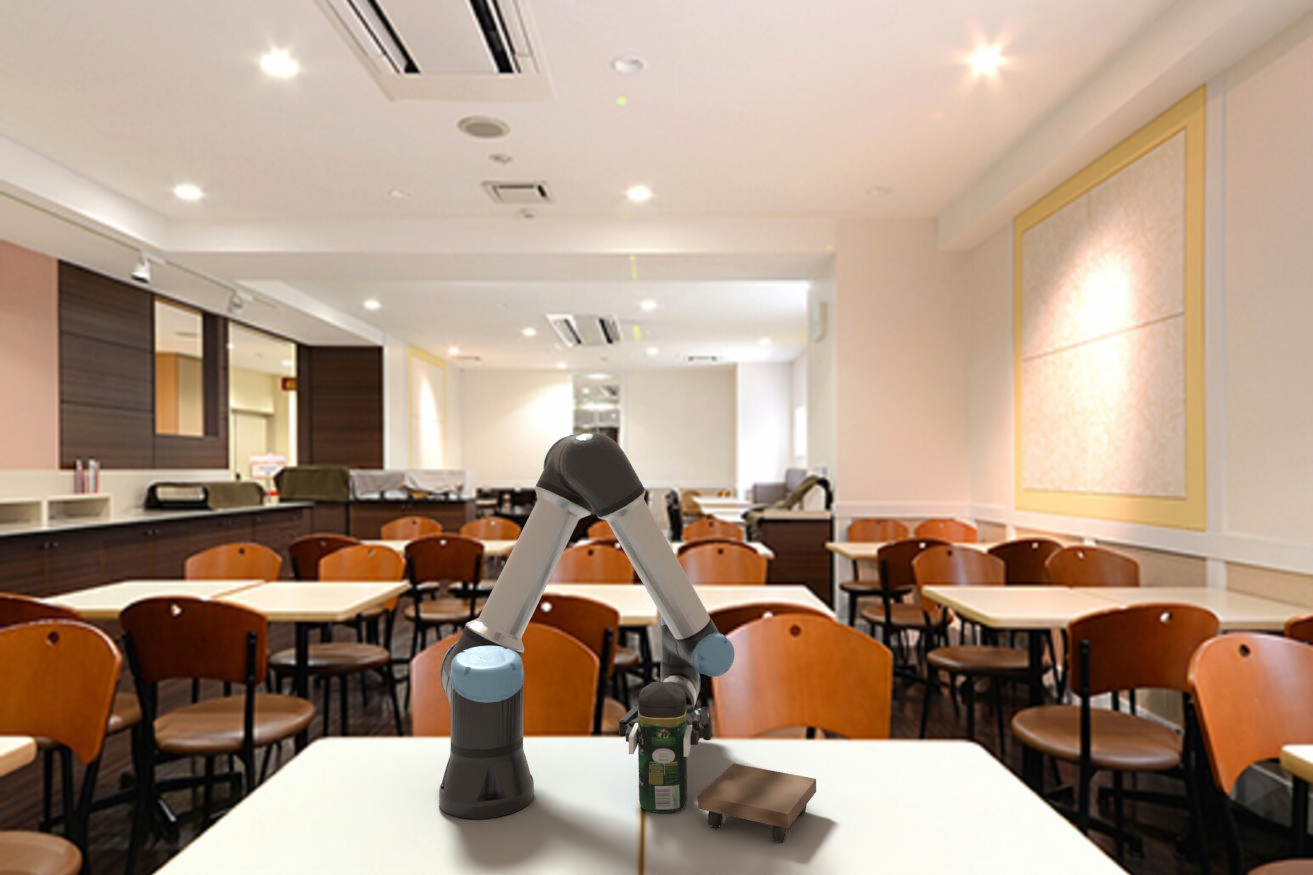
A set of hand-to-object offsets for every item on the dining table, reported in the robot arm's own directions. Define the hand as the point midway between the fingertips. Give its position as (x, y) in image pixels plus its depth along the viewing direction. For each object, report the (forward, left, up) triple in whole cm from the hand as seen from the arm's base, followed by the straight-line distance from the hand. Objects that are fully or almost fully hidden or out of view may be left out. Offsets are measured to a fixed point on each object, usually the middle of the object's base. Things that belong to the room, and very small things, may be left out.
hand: (658, 746), depth 123 cm
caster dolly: (+14, +5, -11) cm, 19 cm away
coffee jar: (-2, +4, -11) cm, 12 cm away
